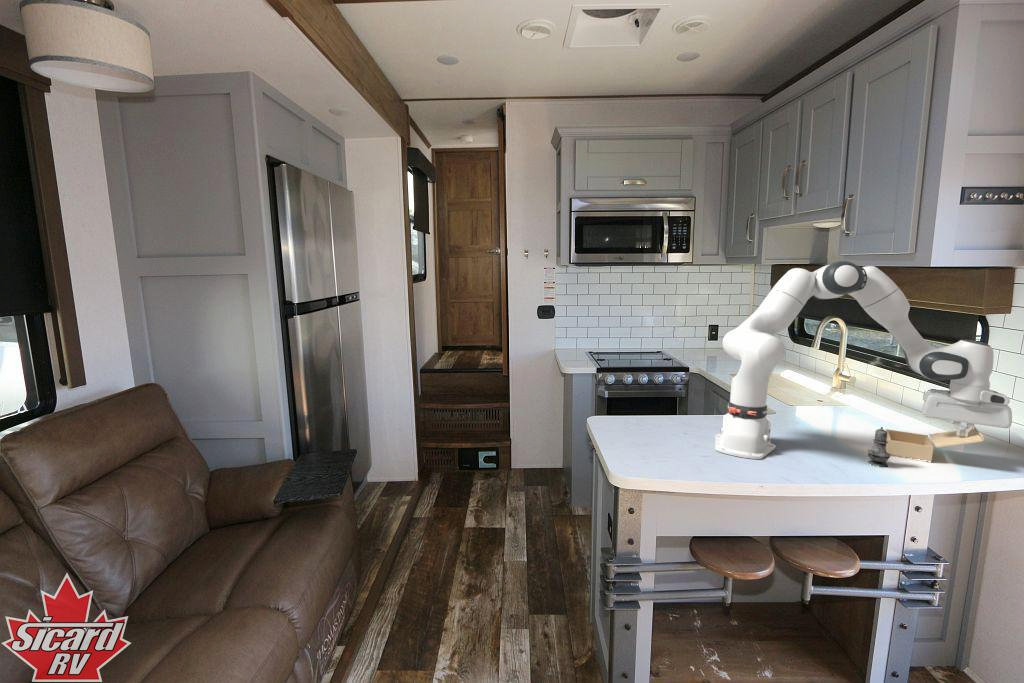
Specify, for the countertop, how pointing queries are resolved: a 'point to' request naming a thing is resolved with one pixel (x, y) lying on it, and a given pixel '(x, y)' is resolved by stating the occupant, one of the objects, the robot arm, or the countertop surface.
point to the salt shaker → (879, 449)
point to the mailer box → (909, 445)
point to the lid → (956, 438)
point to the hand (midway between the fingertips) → (961, 435)
